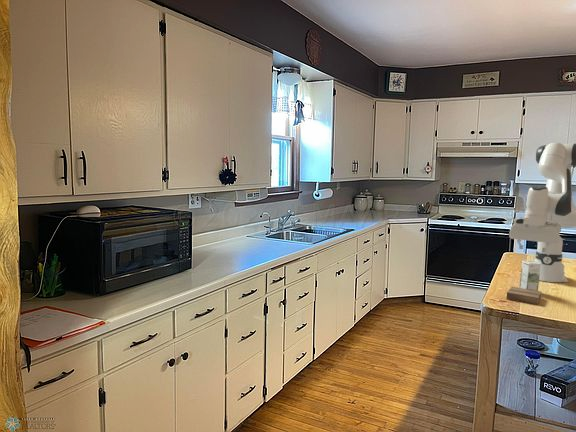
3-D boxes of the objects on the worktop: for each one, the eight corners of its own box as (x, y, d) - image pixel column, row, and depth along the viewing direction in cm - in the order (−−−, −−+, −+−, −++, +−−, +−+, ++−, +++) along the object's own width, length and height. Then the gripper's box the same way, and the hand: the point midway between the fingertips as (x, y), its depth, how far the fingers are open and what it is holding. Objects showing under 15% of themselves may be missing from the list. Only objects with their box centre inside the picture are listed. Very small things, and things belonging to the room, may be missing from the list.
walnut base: (511, 292, 200) (511, 286, 199) (540, 298, 193) (541, 291, 192) (506, 298, 190) (506, 292, 190) (537, 304, 183) (537, 298, 183)
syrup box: (530, 289, 206) (533, 260, 204) (538, 293, 200) (541, 263, 198) (519, 289, 205) (521, 260, 204) (526, 293, 200) (529, 262, 198)
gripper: (562, 222, 195) (559, 252, 196) (512, 218, 207) (509, 246, 208) (561, 224, 190) (557, 254, 191) (510, 219, 202) (507, 248, 203)
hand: (532, 250), depth 200 cm, fingers open, 8 cm apart
